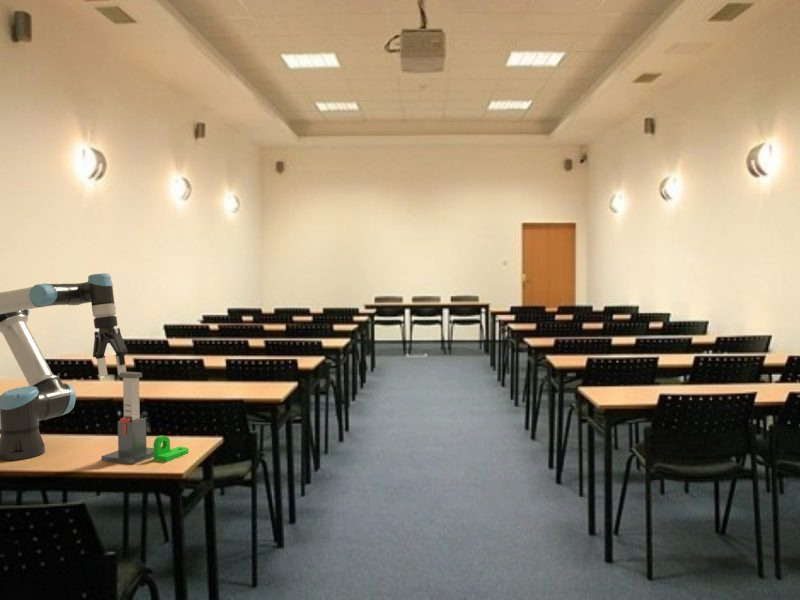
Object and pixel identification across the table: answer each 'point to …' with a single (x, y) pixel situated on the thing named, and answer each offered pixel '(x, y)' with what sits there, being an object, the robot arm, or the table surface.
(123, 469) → the table surface
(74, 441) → the table surface
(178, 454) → the mechanical part
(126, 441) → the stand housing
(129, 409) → the column
